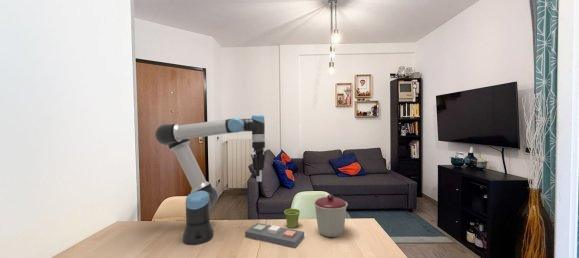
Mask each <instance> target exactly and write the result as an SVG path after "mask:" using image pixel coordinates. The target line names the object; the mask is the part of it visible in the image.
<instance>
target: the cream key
mask: <svg viewBox="0 0 579 258" xmlns="http://www.w3.org/2000/svg"><path fill="white" fill-rule="evenodd" d="M281 228H282V227H281V226H278V225H271V227H270V228H268V233H270V234H275V235H277V234H278V233H279V232H280V231H281Z"/></svg>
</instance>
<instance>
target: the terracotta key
mask: <svg viewBox="0 0 579 258" xmlns="http://www.w3.org/2000/svg"><path fill="white" fill-rule="evenodd" d="M295 235H296V231H291V230H287V231H286V232H285V233H284V234H283V236H285V237H290V238H293V237H294V236H295Z"/></svg>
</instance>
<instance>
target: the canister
mask: <svg viewBox="0 0 579 258" xmlns="http://www.w3.org/2000/svg"><path fill="white" fill-rule="evenodd" d="M313 205H314V208H315V215H316V222H317V229H318V231H319V233H320V234H321V235H322V236H324V237H327V238H337V237H340V236H342V235H343V233H344V230H345V225H346V224H345V222H346V216H347V215H346V214H347V207H348V201H345V199H342V198H339V197H335V196H334V195H333V194H327V196H324V197H323V196H322V197H319V198H318V199H316V200H314V202H313Z"/></svg>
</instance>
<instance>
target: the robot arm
mask: <svg viewBox="0 0 579 258" xmlns="http://www.w3.org/2000/svg"><path fill="white" fill-rule="evenodd" d="M265 125H266V124H265V116H264V115H263V114H262V115H261V114H255V115H253V114H252V115H251V118H240V117H232V118H228V119H219V120H214V121H213V120H210V121H203V122H197V123H196V122H195V123H188V124H179V123H164V124H161V125H160V126H158V127H157V128H156V130H155V133H154V137H155V139H156V141H157V142H158V143H159V144H161V145H164V146H167V147H168V148H169V151H171V152H174V155H175V157H176V158H177V161H178V162H179V164H180V166H181V169H182V170H183V173H184V175H185V176H186V179H187V180H188V181H187V182H188V183H189V185H190V187H191V191H190V193H189V194H188V195H187V196H186V197H185V203H184V204H185V222H186V223H185V224H186V225H185V227H184V228H185V229H184V233H183V235H182V242H183V243H184V244H186V245H191V246H193V245H195V246H196V245H200V244H204V243H207V242H209V241H210V240H212V239H213V237H214V230H213V227H212V223H211V221H210V220H211V218H210V211H211V209H212V208H213V207H214V206H215V205H216V204H217V202H218V199H219V193H218V190H217V189H216V188H215V187H213V186H212V184H211V182H210V181H207V180H206V177H205V176H204V174H203V171H202V170H201V168H200V165H199V164H198V161H197V158H196V157H195V155H194V153H193V152H192V149H191V148H190V143H191V141H190V139H196V138H202V137H211V136H218V135H224V134H234V133H241V132H251V141H252V143H251V147H252V149H253V152H252V153H251V154H250V157H251V160H252V165H253V170H254V171H256V172H255V175H256V179H255V180H256V182H257V183H258V182H260V183H261V182H263V181H262V180H263V179H262V178H263V176H262V175H263V174H262V171H264V169H265V161H266V155H267V153H266V152H265V151H264V149H265V147H266V142H265V141H266V136H265V135H266V133H265V132H266V131H265V129H266V128H265Z"/></svg>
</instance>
